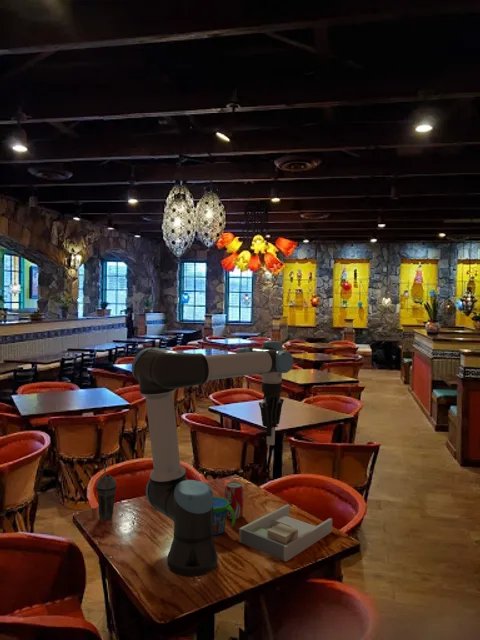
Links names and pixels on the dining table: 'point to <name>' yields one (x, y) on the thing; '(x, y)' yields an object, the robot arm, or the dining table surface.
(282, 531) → the beech block
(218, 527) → the snack cup
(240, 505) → the soda can
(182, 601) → the dining table surface
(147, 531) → the dining table surface
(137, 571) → the dining table surface
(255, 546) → the trap box
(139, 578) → the dining table surface
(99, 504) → the beverage cup
